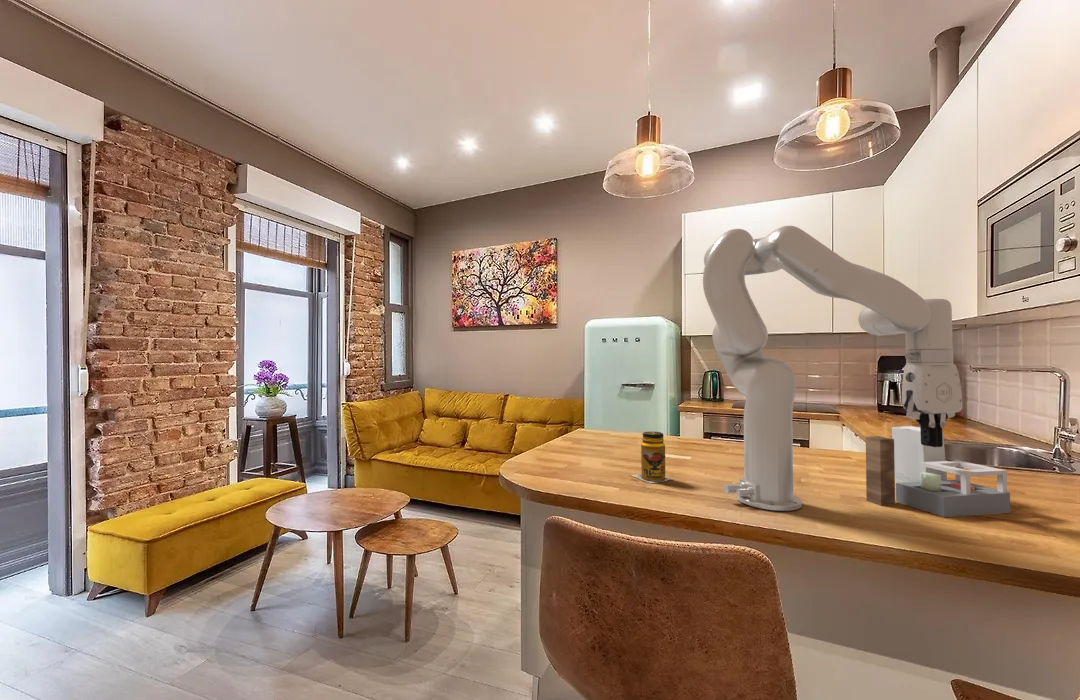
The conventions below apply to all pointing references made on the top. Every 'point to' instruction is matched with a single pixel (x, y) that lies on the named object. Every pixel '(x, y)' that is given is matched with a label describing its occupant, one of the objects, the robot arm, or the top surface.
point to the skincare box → (913, 454)
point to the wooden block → (880, 470)
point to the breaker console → (957, 491)
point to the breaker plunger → (958, 486)
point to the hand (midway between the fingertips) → (931, 445)
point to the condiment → (652, 458)
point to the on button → (931, 482)
